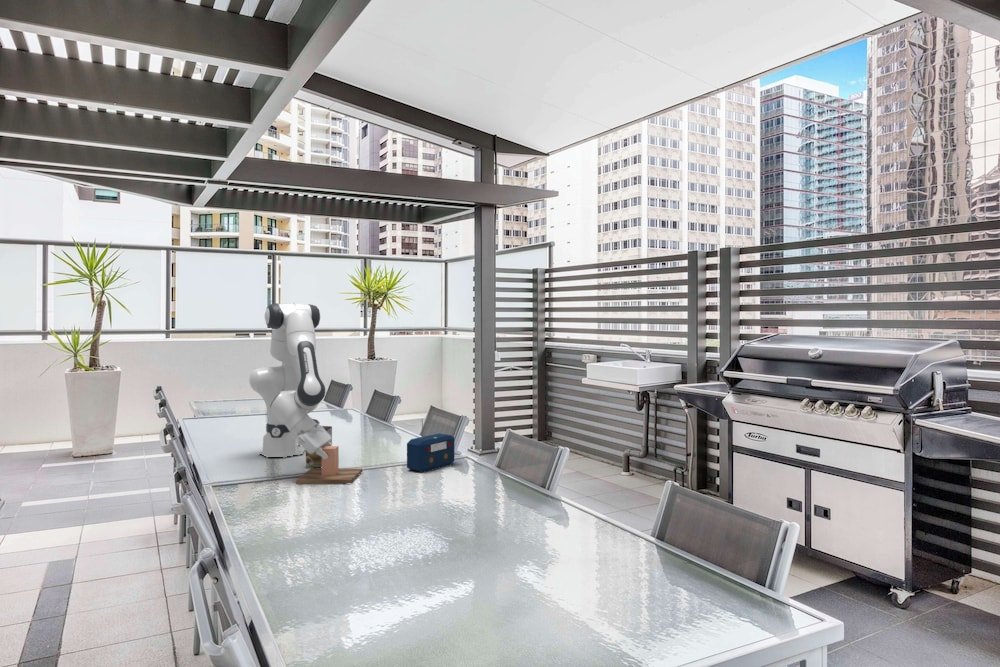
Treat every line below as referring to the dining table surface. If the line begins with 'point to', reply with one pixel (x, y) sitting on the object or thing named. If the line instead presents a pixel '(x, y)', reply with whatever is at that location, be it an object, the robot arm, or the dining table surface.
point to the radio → (430, 452)
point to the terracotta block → (330, 461)
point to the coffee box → (314, 458)
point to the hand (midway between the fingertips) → (330, 455)
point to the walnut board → (329, 476)
